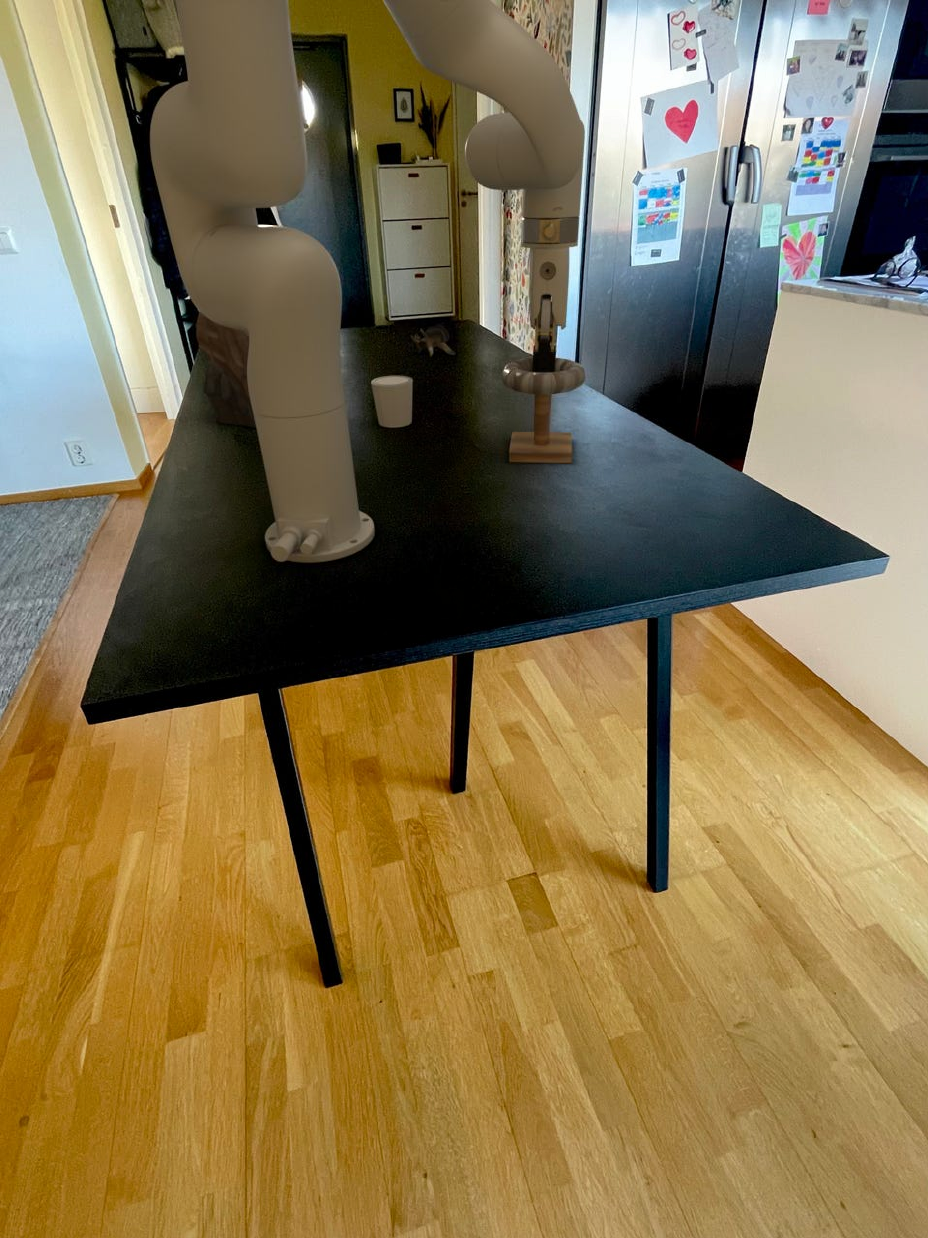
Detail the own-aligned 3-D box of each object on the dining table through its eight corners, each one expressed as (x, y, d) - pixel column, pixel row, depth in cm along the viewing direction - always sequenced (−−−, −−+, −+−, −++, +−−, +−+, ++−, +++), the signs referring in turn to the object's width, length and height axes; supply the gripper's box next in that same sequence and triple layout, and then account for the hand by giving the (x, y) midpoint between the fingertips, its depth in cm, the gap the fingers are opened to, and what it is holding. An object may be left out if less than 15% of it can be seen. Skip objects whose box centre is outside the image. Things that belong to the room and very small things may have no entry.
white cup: (409, 429, 110) (406, 386, 106) (369, 427, 111) (365, 385, 107) (419, 416, 115) (417, 375, 111) (382, 415, 116) (378, 374, 113)
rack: (571, 463, 95) (576, 388, 90) (509, 462, 96) (510, 388, 91) (570, 441, 103) (575, 371, 97) (512, 441, 104) (513, 371, 98)
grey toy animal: (411, 353, 150) (449, 346, 148) (409, 322, 150) (446, 314, 148) (422, 365, 158) (458, 358, 155) (419, 335, 158) (456, 328, 155)
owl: (208, 422, 116) (177, 296, 104) (253, 402, 125) (229, 284, 114) (268, 429, 111) (242, 299, 100) (309, 408, 121) (291, 286, 110)
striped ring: (584, 397, 89) (586, 375, 87) (498, 396, 90) (498, 374, 89) (583, 375, 98) (585, 355, 97) (505, 374, 100) (505, 354, 98)
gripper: (580, 238, 80) (569, 392, 90) (577, 228, 94) (568, 363, 104) (518, 239, 81) (514, 392, 91) (523, 229, 95) (520, 363, 105)
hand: (543, 375), depth 98 cm, fingers closed on striped ring, 3 cm apart
